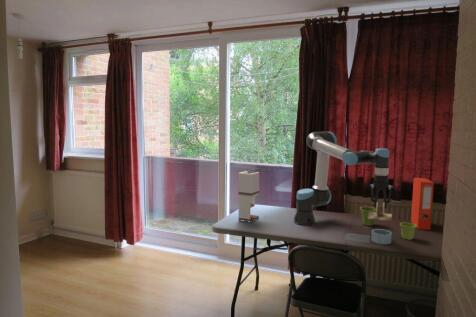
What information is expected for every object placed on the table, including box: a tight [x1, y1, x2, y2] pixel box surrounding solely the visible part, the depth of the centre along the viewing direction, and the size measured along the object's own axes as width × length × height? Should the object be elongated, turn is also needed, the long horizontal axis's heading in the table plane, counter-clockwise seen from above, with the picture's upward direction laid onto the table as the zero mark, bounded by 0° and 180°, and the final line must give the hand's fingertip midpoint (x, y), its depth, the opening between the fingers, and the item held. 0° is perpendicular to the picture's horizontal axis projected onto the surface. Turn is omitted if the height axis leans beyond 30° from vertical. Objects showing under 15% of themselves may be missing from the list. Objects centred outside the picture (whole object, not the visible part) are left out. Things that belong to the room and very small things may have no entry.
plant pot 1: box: [359, 206, 376, 226], centre depth 241 cm, size 12×12×11 cm
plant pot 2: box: [399, 222, 417, 241], centre depth 214 cm, size 9×9×9 cm
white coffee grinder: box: [238, 170, 260, 223], centre depth 252 cm, size 11×11×35 cm
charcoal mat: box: [343, 232, 371, 244], centre depth 214 cm, size 14×14×1 cm
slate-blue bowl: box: [370, 228, 393, 245], centre depth 208 cm, size 11×11×6 cm
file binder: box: [410, 177, 435, 231], centre depth 237 cm, size 8×17×32 cm, turn 167°
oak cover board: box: [368, 204, 393, 222], centre depth 206 cm, size 13×13×7 cm
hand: (380, 213), depth 206 cm, fingers closed on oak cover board, 3 cm apart
